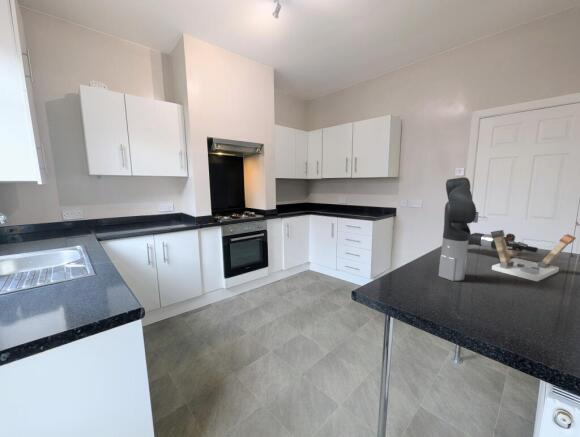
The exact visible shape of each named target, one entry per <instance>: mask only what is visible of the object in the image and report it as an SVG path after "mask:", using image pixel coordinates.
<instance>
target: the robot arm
mask: <svg viewBox="0 0 580 437" xmlns="http://www.w3.org/2000/svg"><path fill="white" fill-rule="evenodd" d="M445 190H446V195H447V202H446V203H445V206H444V217H443V218H444V220H443V221H444V222H443V223H444V224H443V233H442V243H441V253H440V257H439V268H438V277H440V278H443V279H446V280H449V281H452V282H453V281H456V282H457V281H464V280H465V274H466V266H467V258H468V257H467V256H468V250H469V249H468V247H469V246H471V245H472V246H473V245H474V246H477V247H478V246H479V247H483V248H486V249H489V250H490V249H491V250H496V251H497V248H496V244H495V241H494V238H492V235H491V233H490V234H489V233H480V232H473V233H471V229H470V227H469V225H468V224H471V223H473V222H474V221H475V220H476V216H477V207H476V204H475V203H474V201H473V195H472V194H473V193H472V192H471V182H470V180H469V178H468V177H456V178H455V177H454V178H450V179H447V180H446V182H445ZM504 239H505V242H506V245H507V249H508V250H515V251H517V252H532V253H537V252H538V251H539V250H538V249H539V248H538V247H536V246H530V245H529V244H526V243H524V242H522V241H521V242H520V241H515V240H514V241H511V242H508V240H507V238H506V236H504Z"/></svg>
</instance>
